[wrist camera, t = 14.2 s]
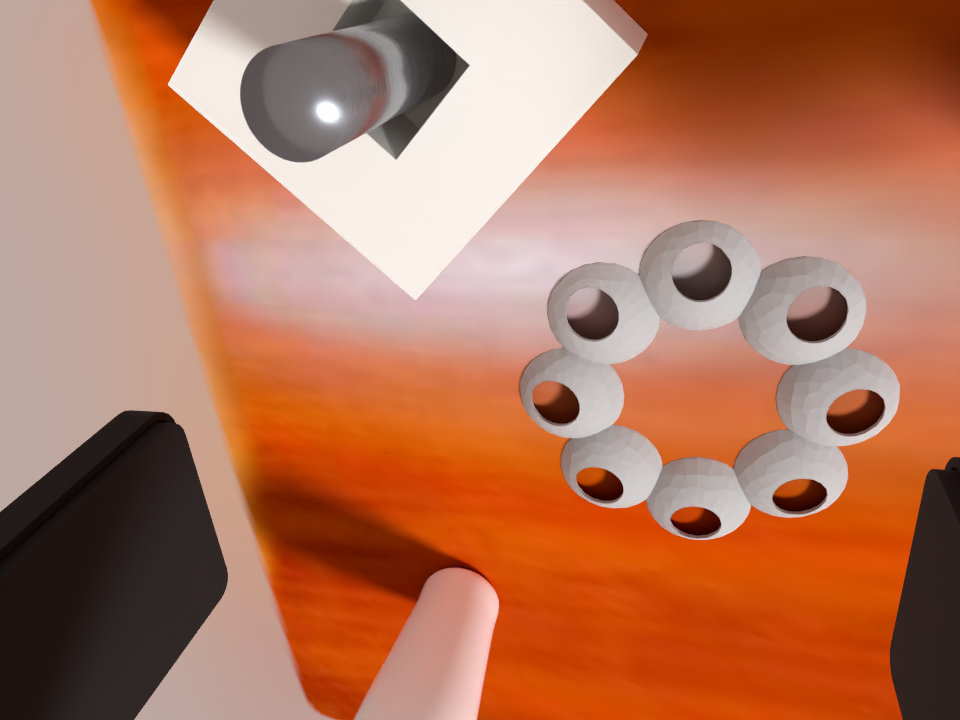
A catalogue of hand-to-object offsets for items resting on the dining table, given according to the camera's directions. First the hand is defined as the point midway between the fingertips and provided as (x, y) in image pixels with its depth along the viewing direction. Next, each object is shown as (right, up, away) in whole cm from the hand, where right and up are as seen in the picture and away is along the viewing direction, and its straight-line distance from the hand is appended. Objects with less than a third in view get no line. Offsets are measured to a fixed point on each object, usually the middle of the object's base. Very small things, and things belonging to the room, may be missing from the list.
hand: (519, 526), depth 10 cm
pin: (-3, +16, +25) cm, 30 cm away
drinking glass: (-2, -14, +44) cm, 46 cm away
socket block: (-3, +17, +27) cm, 32 cm away
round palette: (+11, 0, +33) cm, 35 cm away
